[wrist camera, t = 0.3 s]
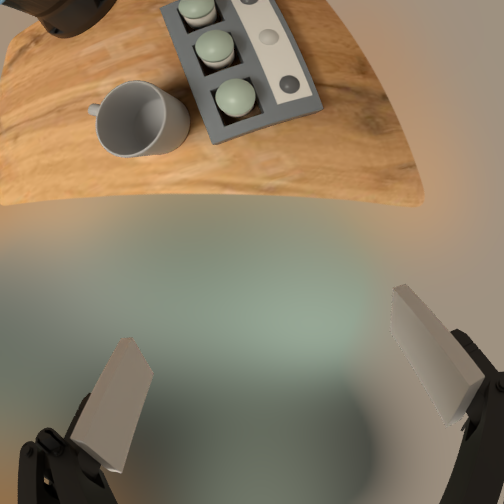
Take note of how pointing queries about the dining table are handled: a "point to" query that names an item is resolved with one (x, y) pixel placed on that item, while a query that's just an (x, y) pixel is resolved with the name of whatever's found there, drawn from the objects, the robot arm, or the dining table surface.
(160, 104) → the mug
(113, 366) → the robot arm
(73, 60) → the dining table surface
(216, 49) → the button mid
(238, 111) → the button
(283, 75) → the card
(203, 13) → the button
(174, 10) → the button board
